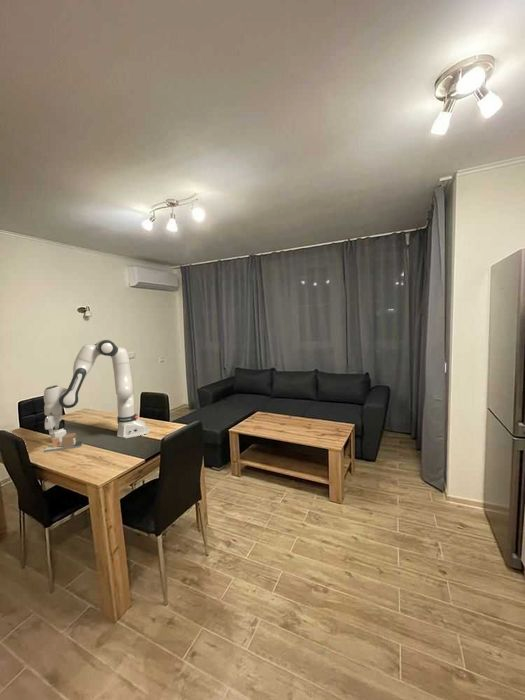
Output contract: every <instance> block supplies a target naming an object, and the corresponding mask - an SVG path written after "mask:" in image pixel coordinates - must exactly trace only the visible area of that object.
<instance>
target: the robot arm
mask: <svg viewBox="0 0 525 700" xmlns="http://www.w3.org/2000/svg"><path fill="white" fill-rule="evenodd" d="M100 355H102V356H107V357H110V358H111V360H112V361H111V362H112V370H113V375H114V376H113V377H114V385H115V394H116V396H117V397H116V400H117V404H116V405H117V407H116V408H117V420H116V421H117V424H118V425H117V434H116V437H118V438H123V439H129V438H136V437H139V436H140V435H141V436H145V435H144V434H146V435H148V434H149V433H150V432H151V429H150V427H148V426H147V423H146V422H145V421H144V420H141V419H139V416H138V415H139V414H138V413H135V395H134V383H133V380H132V379H133V377H132V369H131V362H130V357H129V352H128V350H127V349H126V348H124V347H117V345H116V344H115V343H114V342H113V341H112V340H110V339H108V338H107V339H106V338H105V339H101V340H99V341H98V342H96V343H95V344H88V343H87V344H84V345H82V347H81V349H80V350H79V351H78V353H77V355H76V358H74V363H73V368H72V371H73V374H72V378H71V381H70V383H69V385H68V387H67V388H66V387H65V388H64V387H61V386H59V385H58V384H57V385H52V386H48V387H45V389H44V390H43V402H44V406H43V409H44V416H46V417H45V419H44V429H45V431H47V430H48V432H49V435H50V436H51V435H52V434H53V433H54V431H53V427H54V426H55V430H56V429H58V428H59V423H61V421H62V419H63V410H64V408H65V409H71V408H75V406H77V405H78V403H79V393H80V389H81V387H82V385H83V383H84V381H85V379H86V377H87V375H88V374H89V373H90V371H91V370H92V368H93V367H94V364H95V362H96V359H97V358H98V357H99V356H100Z"/></svg>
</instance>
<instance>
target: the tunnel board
mask: <svg viewBox="0 0 525 700" xmlns="http://www.w3.org/2000/svg"><path fill="white" fill-rule="evenodd" d="M73 438H75V440H76V443H75V444H74V442H73ZM62 444H63V446H59V447H53V444H51V445H47V446H46V448H44V451H43V452H44V453H47V452H48V453H49V452H53V451H54V452H55V451H61V450H69V449H77V448H81V447H82V446H83V444H84V440H82V441H77V433H76V432H72V433H71V432H70V433H66V434H65V435H64V436H63V437H62Z"/></svg>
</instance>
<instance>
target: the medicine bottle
mask: <svg viewBox="0 0 525 700" xmlns="http://www.w3.org/2000/svg"><path fill="white" fill-rule="evenodd" d="M53 431H54V433H53V434H52V435H50V441H51V442H52V439H53V438H57V437H59V441H60V443H61V442H62V437H63V436H64V435H65V434H67V430H66V429H65V428H64V423H62V422H59V428H58V429H56V430H55V426H54V427H53Z"/></svg>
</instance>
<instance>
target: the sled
mask: <svg viewBox="0 0 525 700" xmlns="http://www.w3.org/2000/svg"><path fill="white" fill-rule="evenodd" d="M51 442H52V445H53V447H59V446H63V444H62V442H60V441H59V437H57V438H53V439H52V441H51ZM73 442H74V444H75V443H76V442H77V439H76V440H75V438H73Z"/></svg>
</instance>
